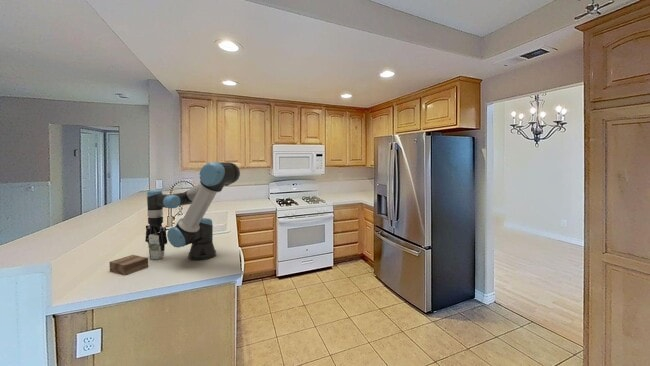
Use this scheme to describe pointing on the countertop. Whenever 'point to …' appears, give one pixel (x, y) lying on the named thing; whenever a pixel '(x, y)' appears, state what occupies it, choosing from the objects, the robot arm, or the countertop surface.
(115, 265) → the walnut plinth
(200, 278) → the countertop surface
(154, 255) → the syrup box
